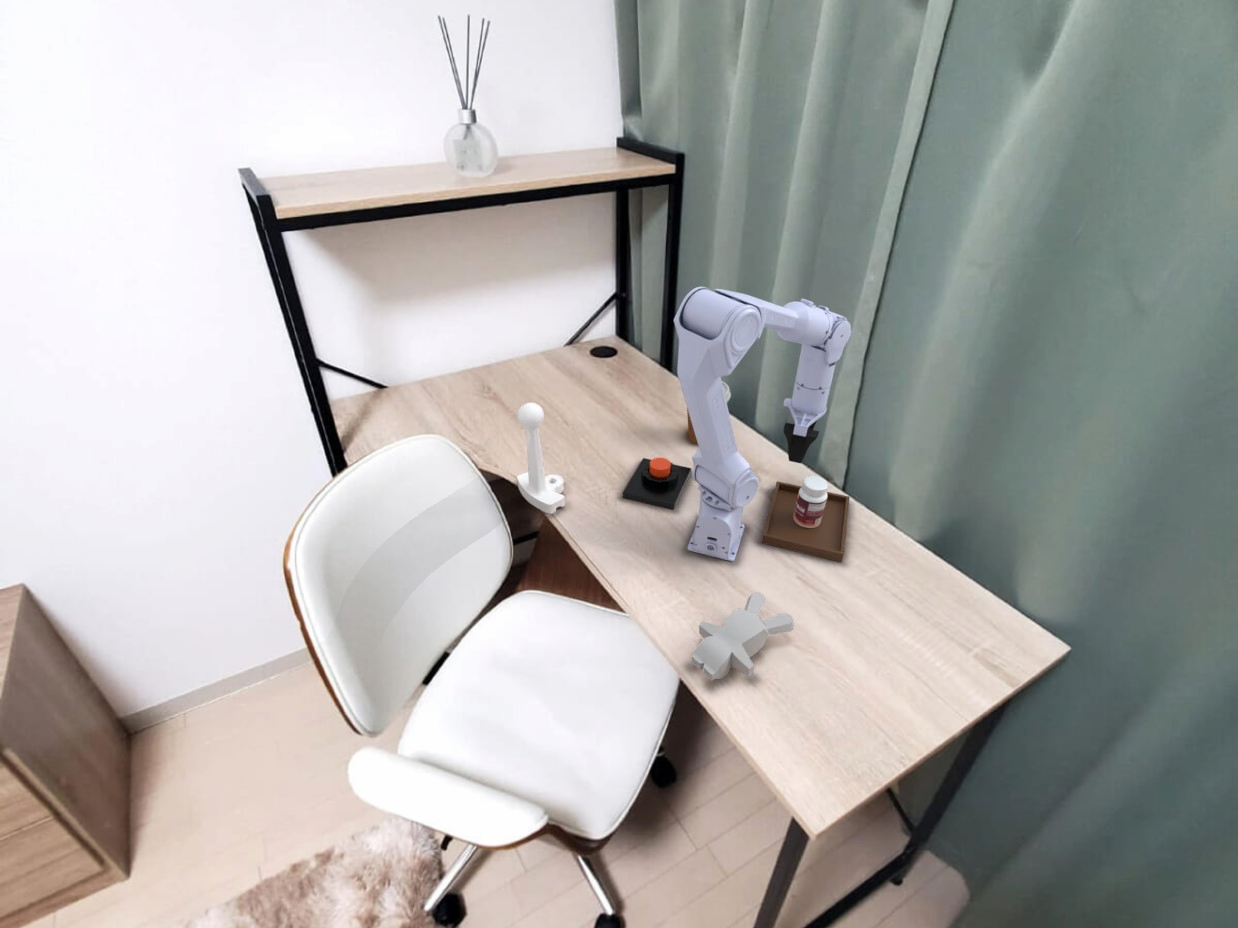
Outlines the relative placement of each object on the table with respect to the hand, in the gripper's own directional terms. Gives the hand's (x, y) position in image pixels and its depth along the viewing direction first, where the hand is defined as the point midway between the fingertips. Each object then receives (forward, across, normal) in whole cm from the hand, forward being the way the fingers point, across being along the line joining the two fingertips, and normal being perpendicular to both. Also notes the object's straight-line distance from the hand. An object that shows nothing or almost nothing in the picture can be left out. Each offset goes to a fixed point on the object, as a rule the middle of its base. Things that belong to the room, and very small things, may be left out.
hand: (798, 449), depth 108 cm
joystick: (+11, +18, -42) cm, 47 cm away
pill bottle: (+10, +7, +4) cm, 13 cm away
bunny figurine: (+11, +38, 0) cm, 39 cm away
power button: (+8, +6, -24) cm, 26 cm away
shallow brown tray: (+10, +7, +4) cm, 13 cm away
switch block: (+10, +7, -24) cm, 27 cm away
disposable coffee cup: (+11, -13, -21) cm, 27 cm away
